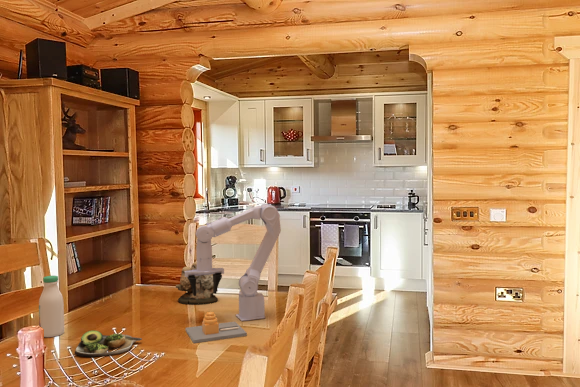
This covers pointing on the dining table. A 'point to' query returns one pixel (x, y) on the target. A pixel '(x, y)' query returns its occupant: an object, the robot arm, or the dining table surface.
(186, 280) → the owl figurine
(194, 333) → the grey peg board
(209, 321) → the wire nut
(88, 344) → the salad plate
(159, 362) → the dining table surface
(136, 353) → the dining table surface
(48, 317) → the milk bottle
